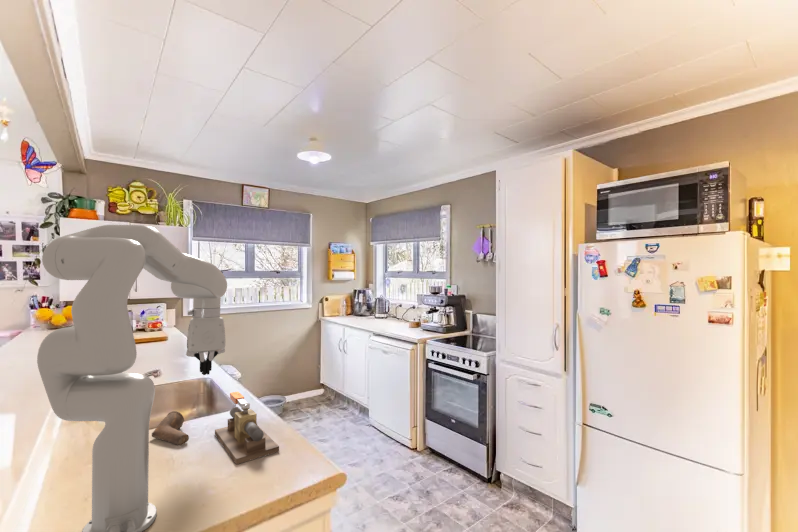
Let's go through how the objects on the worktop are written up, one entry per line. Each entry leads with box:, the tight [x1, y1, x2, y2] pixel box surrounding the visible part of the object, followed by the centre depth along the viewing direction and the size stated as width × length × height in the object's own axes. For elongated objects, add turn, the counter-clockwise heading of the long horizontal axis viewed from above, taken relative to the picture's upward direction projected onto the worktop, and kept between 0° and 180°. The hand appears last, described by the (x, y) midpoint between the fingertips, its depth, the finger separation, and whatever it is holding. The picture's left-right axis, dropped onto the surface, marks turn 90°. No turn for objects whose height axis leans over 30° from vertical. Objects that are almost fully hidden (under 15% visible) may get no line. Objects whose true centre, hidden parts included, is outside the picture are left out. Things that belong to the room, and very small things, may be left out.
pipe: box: [151, 410, 190, 446], centre depth 121 cm, size 6×17×10 cm
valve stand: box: [214, 406, 280, 465], centre depth 117 cm, size 24×12×10 cm, turn 39°
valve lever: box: [229, 391, 251, 411], centre depth 122 cm, size 3×15×2 cm, turn 37°
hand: (205, 373), depth 116 cm, fingers closed
